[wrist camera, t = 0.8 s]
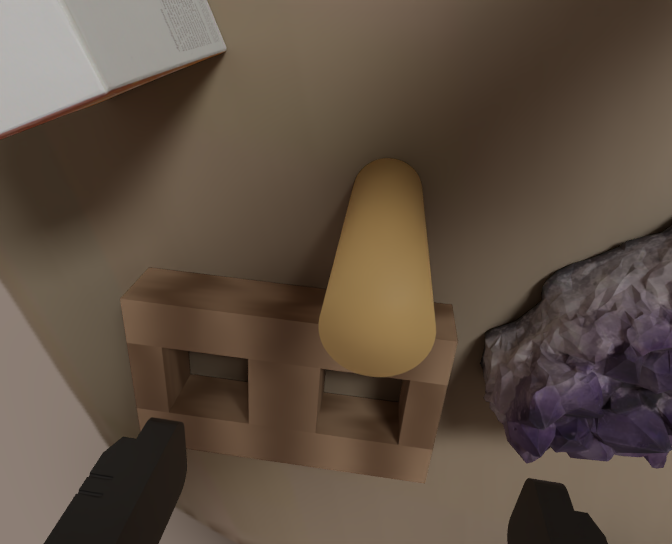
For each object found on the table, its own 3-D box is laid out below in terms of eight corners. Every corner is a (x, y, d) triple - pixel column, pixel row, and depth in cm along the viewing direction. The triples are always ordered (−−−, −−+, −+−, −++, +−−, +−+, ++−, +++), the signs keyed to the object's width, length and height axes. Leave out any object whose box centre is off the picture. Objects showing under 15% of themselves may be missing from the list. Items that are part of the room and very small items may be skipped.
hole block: (452, 304, 33) (457, 341, 29) (422, 439, 39) (424, 483, 35) (148, 267, 34) (120, 298, 31) (164, 402, 40) (142, 442, 36)
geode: (531, 435, 38) (552, 556, 29) (445, 313, 35) (439, 404, 26) (864, 311, 29) (1039, 427, 20) (780, 141, 27) (935, 188, 18)
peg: (427, 162, 29) (445, 287, 16) (416, 227, 31) (425, 383, 18) (356, 154, 29) (322, 273, 17) (349, 220, 31) (315, 369, 19)
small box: (106, 102, 29) (-84, 172, 18) (42, -20, 26) (-229, -28, 15) (232, 51, 27) (109, 95, 16) (177, -85, 24) (-19, -152, 13)
